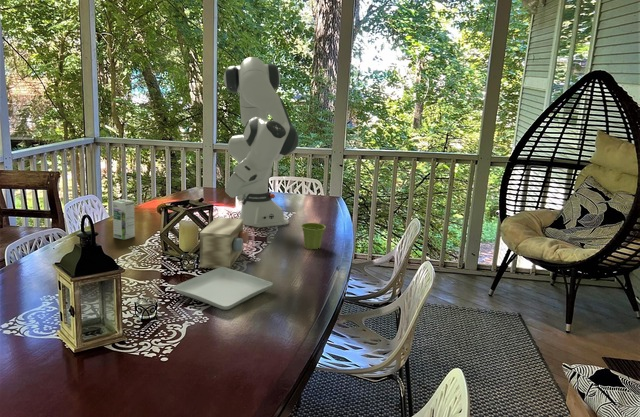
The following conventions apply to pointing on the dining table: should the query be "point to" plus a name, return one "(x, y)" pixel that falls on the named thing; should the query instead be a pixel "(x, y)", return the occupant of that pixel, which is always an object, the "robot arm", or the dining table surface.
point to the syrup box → (123, 219)
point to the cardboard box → (219, 243)
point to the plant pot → (313, 235)
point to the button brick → (243, 236)
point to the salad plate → (223, 287)
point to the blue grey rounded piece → (237, 244)
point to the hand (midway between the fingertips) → (240, 198)
